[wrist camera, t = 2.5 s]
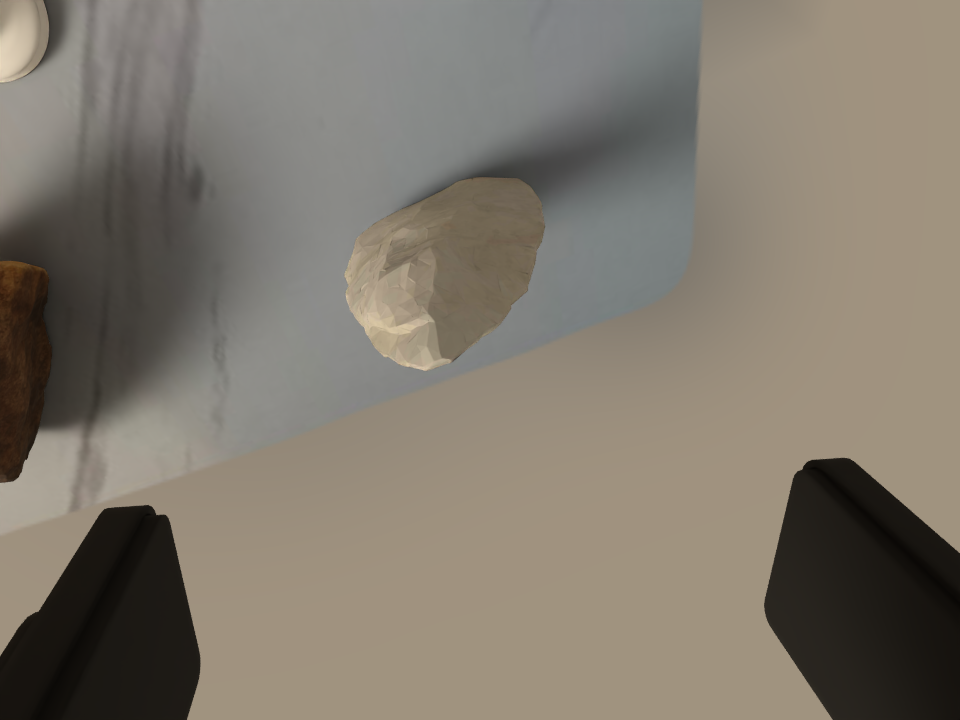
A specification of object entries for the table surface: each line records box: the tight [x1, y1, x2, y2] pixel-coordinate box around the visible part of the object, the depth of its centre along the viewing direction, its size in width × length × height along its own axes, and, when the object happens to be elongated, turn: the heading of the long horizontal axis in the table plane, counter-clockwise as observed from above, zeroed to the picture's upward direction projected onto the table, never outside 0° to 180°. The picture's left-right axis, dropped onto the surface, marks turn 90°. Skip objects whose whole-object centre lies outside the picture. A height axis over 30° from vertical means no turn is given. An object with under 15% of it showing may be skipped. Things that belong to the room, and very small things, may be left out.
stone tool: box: [344, 177, 545, 371], centre depth 24 cm, size 8×3×15 cm, turn 114°
